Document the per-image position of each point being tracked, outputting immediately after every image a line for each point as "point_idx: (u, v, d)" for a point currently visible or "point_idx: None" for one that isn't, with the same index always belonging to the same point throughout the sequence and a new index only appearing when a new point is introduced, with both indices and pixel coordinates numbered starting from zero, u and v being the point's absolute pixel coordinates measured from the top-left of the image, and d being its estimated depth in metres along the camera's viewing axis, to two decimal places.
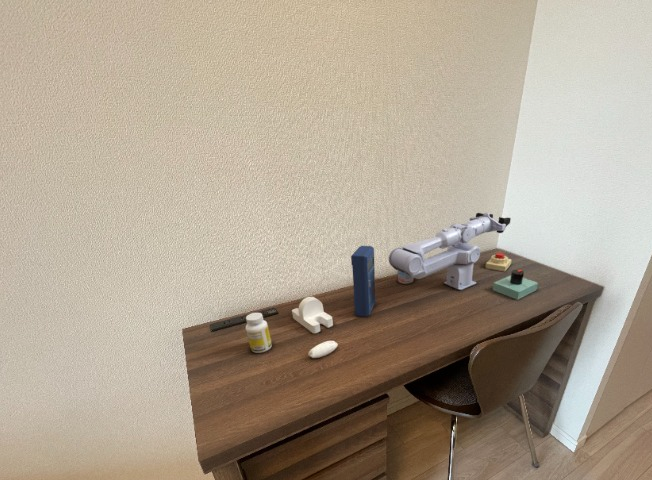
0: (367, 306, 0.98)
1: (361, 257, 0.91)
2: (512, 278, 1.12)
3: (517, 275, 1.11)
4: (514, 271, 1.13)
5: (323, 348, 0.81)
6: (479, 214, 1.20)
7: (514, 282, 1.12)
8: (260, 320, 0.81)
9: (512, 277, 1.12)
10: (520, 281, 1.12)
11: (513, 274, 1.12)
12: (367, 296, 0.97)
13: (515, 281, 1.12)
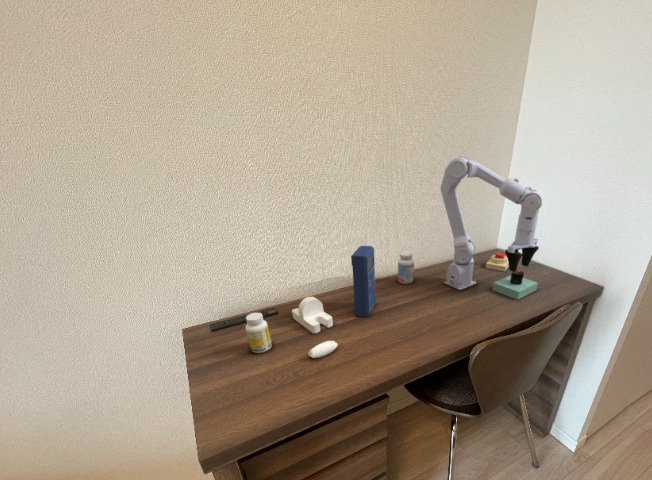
0: (367, 306, 0.98)
1: (361, 257, 0.91)
2: (512, 278, 1.12)
3: (517, 275, 1.11)
4: None
5: (323, 348, 0.81)
6: (536, 247, 1.09)
7: (514, 282, 1.12)
8: (260, 320, 0.81)
9: (512, 277, 1.12)
10: (520, 281, 1.12)
11: (513, 274, 1.12)
12: (367, 296, 0.97)
13: (515, 281, 1.12)
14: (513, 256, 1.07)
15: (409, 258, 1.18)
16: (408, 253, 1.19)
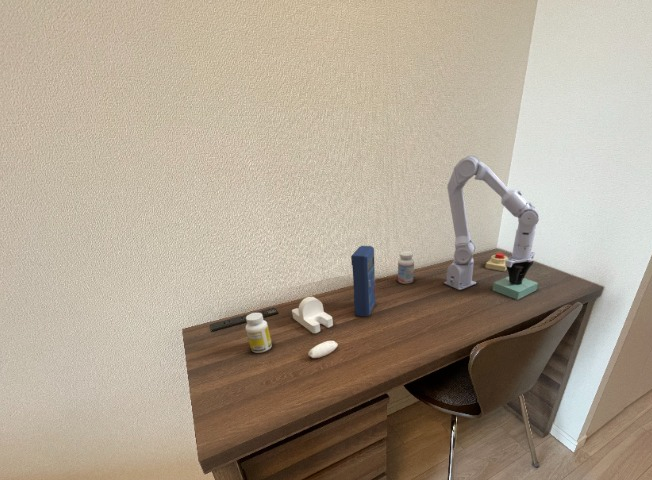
0: (367, 306, 0.98)
1: (361, 257, 0.91)
2: None
3: None
4: None
5: (323, 348, 0.81)
6: (530, 262, 1.10)
7: None
8: (260, 320, 0.81)
9: None
10: (520, 281, 1.12)
11: None
12: (367, 296, 0.97)
13: None
14: (513, 269, 1.10)
15: (409, 258, 1.18)
16: (408, 253, 1.19)
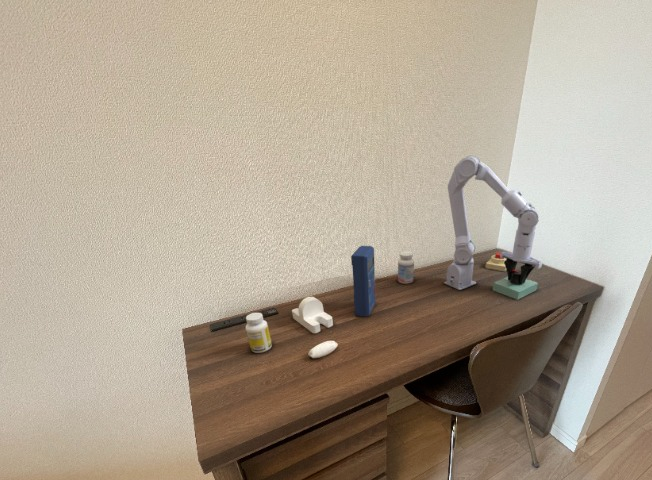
0: (367, 306, 0.98)
1: (361, 257, 0.91)
2: None
3: None
4: (517, 273, 1.11)
5: (323, 348, 0.81)
6: None
7: None
8: (260, 320, 0.81)
9: None
10: None
11: None
12: (367, 296, 0.97)
13: None
14: None
15: (409, 258, 1.18)
16: (408, 253, 1.19)
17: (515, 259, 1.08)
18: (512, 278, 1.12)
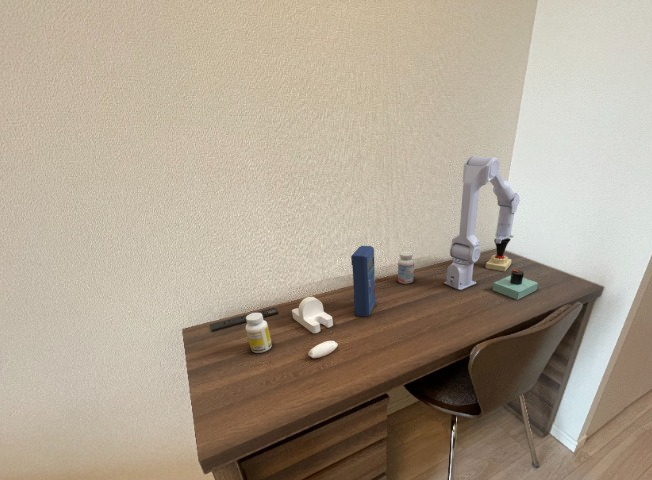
0: (367, 306, 0.98)
1: (361, 257, 0.91)
2: (520, 279, 1.11)
3: (523, 274, 1.12)
4: (517, 273, 1.11)
5: (323, 348, 0.81)
6: (509, 239, 1.31)
7: None
8: (260, 320, 0.81)
9: (520, 278, 1.11)
10: None
11: (522, 275, 1.11)
12: (367, 296, 0.97)
13: None
14: (500, 244, 1.32)
15: (409, 258, 1.18)
16: (408, 253, 1.19)
17: None
18: (512, 278, 1.12)
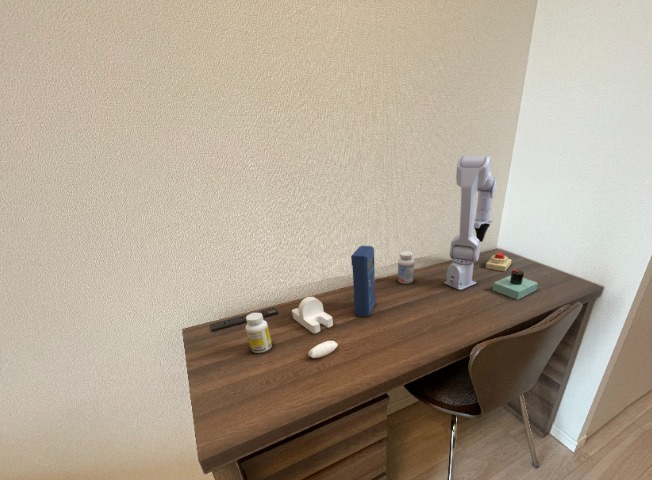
0: (367, 306, 0.98)
1: (361, 257, 0.91)
2: (520, 279, 1.11)
3: (523, 274, 1.12)
4: (517, 273, 1.11)
5: (323, 348, 0.81)
6: (488, 224, 1.32)
7: None
8: (260, 320, 0.81)
9: (520, 278, 1.11)
10: None
11: (522, 275, 1.11)
12: (367, 296, 0.97)
13: None
14: (480, 229, 1.33)
15: (409, 258, 1.18)
16: (408, 253, 1.19)
17: None
18: (512, 278, 1.12)
